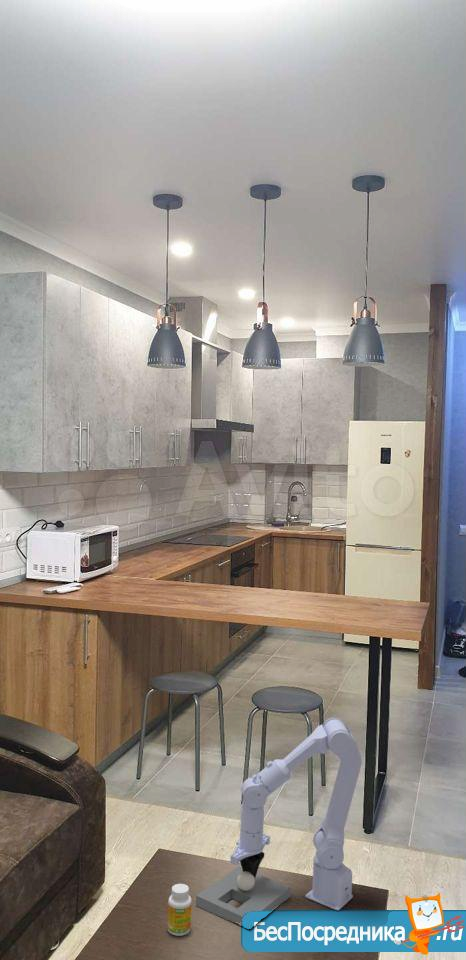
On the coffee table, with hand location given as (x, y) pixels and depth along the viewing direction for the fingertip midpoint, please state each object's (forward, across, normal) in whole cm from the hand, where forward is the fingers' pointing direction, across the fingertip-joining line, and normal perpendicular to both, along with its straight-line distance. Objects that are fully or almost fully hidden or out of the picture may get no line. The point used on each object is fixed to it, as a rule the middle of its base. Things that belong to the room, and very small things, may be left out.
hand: (249, 881), depth 195 cm
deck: (+4, +3, 0) cm, 5 cm away
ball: (-1, +2, 0) cm, 2 cm away
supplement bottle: (+4, +22, -4) cm, 23 cm away
